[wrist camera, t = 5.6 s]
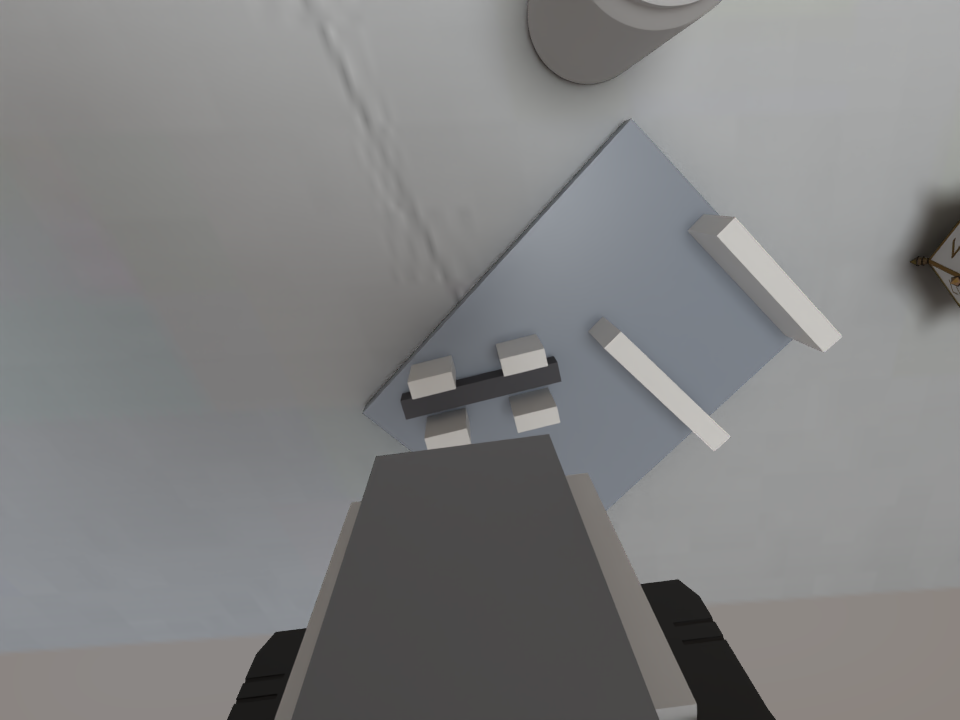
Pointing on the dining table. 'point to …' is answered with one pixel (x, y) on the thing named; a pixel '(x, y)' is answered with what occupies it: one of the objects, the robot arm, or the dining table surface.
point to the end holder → (759, 283)
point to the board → (576, 309)
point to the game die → (946, 262)
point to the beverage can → (605, 33)
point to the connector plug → (472, 598)
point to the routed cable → (481, 389)
